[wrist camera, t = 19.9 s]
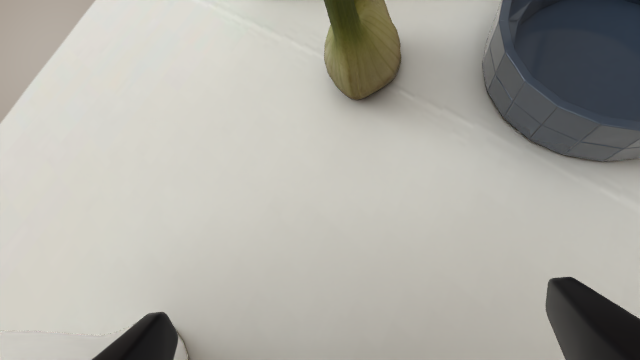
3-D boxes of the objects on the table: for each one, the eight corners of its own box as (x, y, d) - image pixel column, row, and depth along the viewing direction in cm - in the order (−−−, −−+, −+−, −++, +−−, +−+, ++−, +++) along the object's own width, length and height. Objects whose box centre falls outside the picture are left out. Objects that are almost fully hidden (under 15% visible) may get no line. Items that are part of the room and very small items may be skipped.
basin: (772, 108, 20) (874, 59, 15) (547, 195, 21) (585, 172, 17) (628, -46, 24) (678, -117, 20) (448, 33, 25) (458, -18, 21)
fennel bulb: (365, 121, 24) (336, -19, 13) (312, 85, 26) (247, -67, 15) (418, 59, 25) (433, -128, 14) (363, 28, 27) (336, -162, 15)
